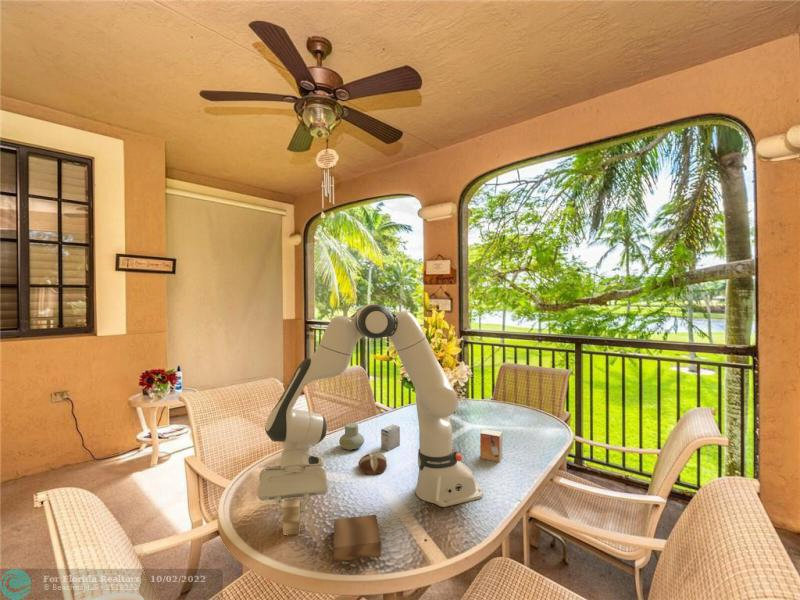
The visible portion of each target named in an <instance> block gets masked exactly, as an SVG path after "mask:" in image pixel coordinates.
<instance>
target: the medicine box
mask: <svg viewBox="0 0 800 600" xmlns="http://www.w3.org/2000/svg"><path fill="white" fill-rule="evenodd" d="M400 428H401V427H400V426H399V425H397V424H390V425H388V426H385V427H383V428H381V430H380V438H381V440H380V441H381V442H380V443H381V446H380V447H381V449H382V450H384V449H385V451H387V450H388V451H391V450H393V449H395V448H397V447H398V446H400V445H401V429H400Z"/></svg>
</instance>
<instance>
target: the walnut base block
mask: <svg viewBox="0 0 800 600" xmlns="http://www.w3.org/2000/svg"><path fill="white" fill-rule="evenodd" d="M380 556H382V541H381V536H380V529H379V523H378V518H377V514H369V515H360V516H359V515H358V516H352V517H342V518H334V519H333V562H334V563H336V562H341V561H342V562H343V561H347V560H348V561H349V560H356V559H357V560H358V559H364V558H373V557H380Z"/></svg>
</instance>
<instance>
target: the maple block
mask: <svg viewBox="0 0 800 600" xmlns="http://www.w3.org/2000/svg"><path fill="white" fill-rule="evenodd" d="M300 505H301V497H295V498H285V499H284V500H283V505H282V507H283V515H282V535H283V534H296V535H300V530H301V526H302V525H301V524H302V521H301V519H302V515H301V514H302V513H300Z"/></svg>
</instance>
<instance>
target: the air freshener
mask: <svg viewBox="0 0 800 600" xmlns="http://www.w3.org/2000/svg"><path fill="white" fill-rule="evenodd" d="M338 443H339V445H340V447H341V448H343V449H344V450H347V449H349V450H348V451H353V450H352V449H355V450H357V449H359V448H361V447H362V446H363V445H364V443H365V437H364V436H363V435H362V434H361V433H359V425H358V424H357V423H355V422H349V423H346V424H345V425H344V434H342V435H341V436H340V438H339V441H338Z"/></svg>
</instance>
